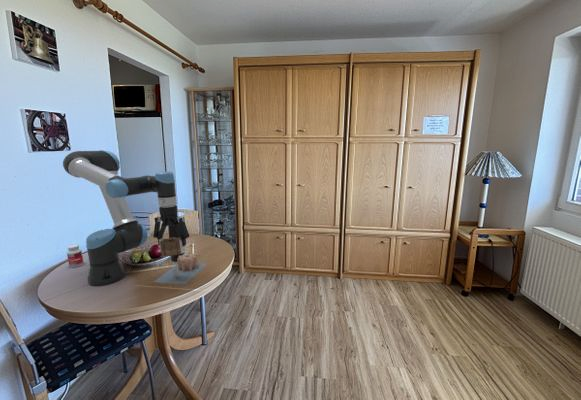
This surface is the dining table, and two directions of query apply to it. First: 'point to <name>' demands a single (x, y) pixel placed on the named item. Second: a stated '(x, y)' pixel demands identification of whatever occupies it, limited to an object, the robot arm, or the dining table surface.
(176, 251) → the gear
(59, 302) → the dining table surface
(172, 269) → the gear board
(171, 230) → the wine bottle
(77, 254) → the pill bottle
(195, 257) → the gear
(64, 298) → the dining table surface
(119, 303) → the dining table surface
